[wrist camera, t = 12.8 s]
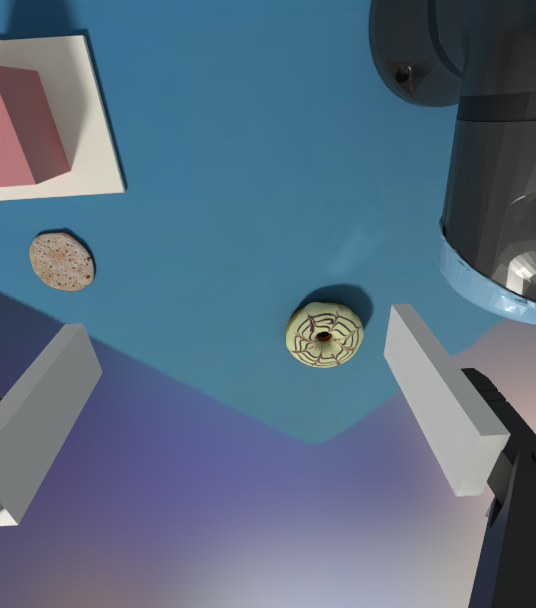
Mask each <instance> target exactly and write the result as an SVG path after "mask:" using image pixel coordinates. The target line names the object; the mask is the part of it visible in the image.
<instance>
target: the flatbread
mask: <svg viewBox="0 0 536 608" xmlns="http://www.w3.org/2000/svg"><path fill="white" fill-rule="evenodd" d="M29 256H30V260H31V263H32V266H33V269H34V271H35V272H36V274H37V275H38V276H39V277H40V278H41V279H42V280H43V281H44V283H46V284H47V285H49V286H50V287H53V288H56V289H61V290H67V291H77V290H80V289H82V288H84V287H86V286H87V285H89V284H90V283H91V282H92V281H93V278H94V266H93V262H92V259H91V257H90V254H89V253H88V251H87V250H86V249H85V247H84V246H83V245H82V244H81V243H79V242H78V241H77V240H76V239H74V238H73V237H72V236H70V235H69V234H67V233H64V232H61V233H47V234H42V235H39V236H37V237H36V238H35V239H34V241H33V242H32V244H31V246H30V250H29Z"/></svg>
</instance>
